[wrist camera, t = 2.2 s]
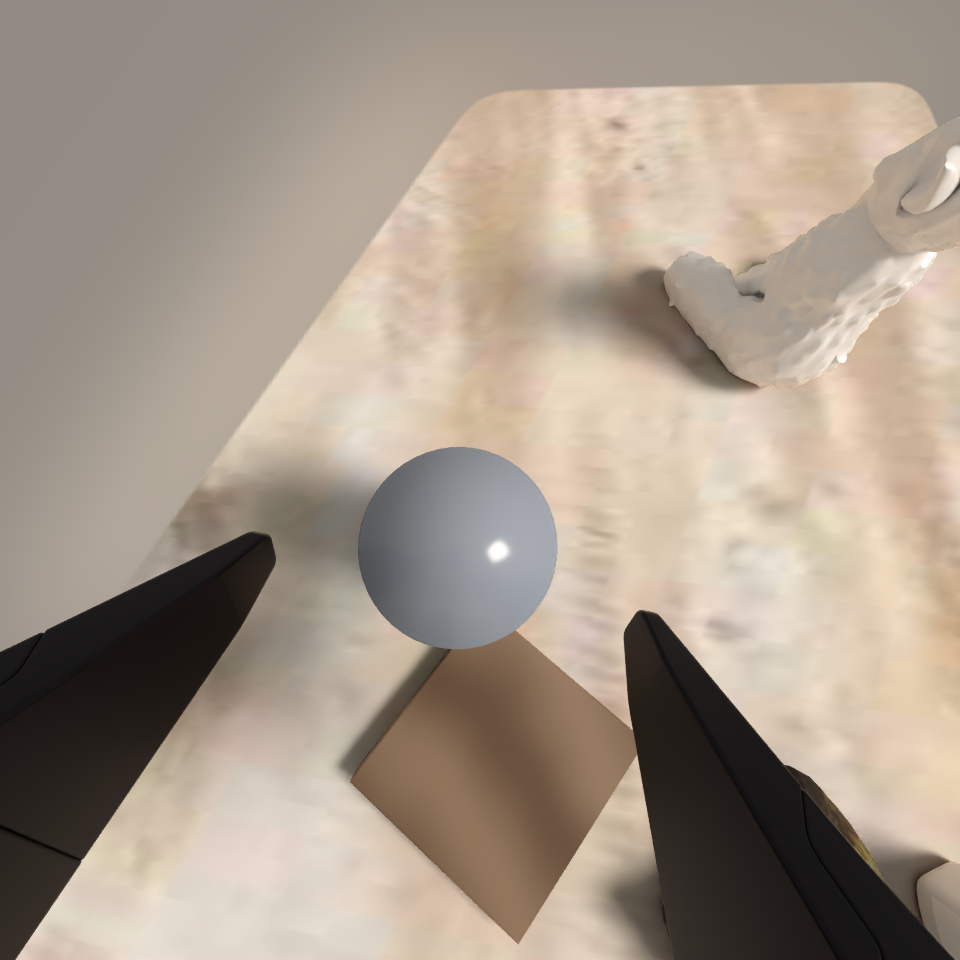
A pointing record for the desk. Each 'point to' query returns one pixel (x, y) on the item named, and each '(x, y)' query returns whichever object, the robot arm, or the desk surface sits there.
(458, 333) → the desk surface
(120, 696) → the robot arm
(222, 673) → the desk surface
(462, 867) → the coaster
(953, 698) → the desk surface
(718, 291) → the white creature statuette
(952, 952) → the eye dropper bottle
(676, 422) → the desk surface
